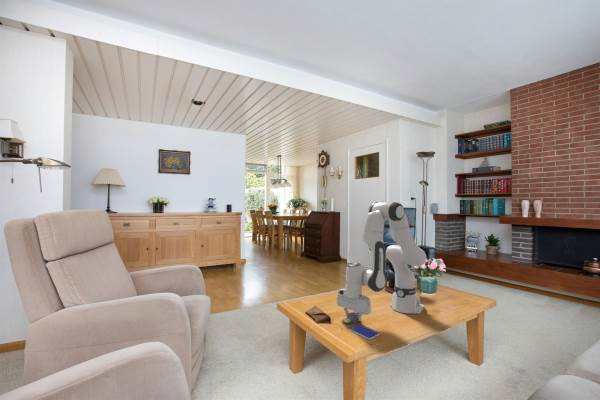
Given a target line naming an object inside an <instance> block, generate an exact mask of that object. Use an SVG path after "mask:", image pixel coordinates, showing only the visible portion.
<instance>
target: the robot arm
mask: <svg viewBox="0 0 600 400" xmlns="http://www.w3.org/2000/svg"><path fill="white" fill-rule="evenodd" d="M386 221H388V223H389V224H388V225H389V229H390V233H391V239H392V240H393V242H395V244H392V245H389V246H387V248H386V247H385V242H384V231H385V223H386ZM410 228H411V227H410V224H409V220H408V217H407V213H406V212H405V207H404V206H403V204H402V203H400V202H393V201H374V202H373V203H371V204H370V206H369V208H368V213H367V215H366V217H365V220H364V225H363V232H362V239H363V240H362V241H363V242H364V244H365V245H366V247H368V248H369V250H370V251H371V252H372V255H373V257H372V260H373V261H372V264H373V265H372V269H371V268H369V267H366V266H364V265H362V264H361V263H360V262H351V263H349V264H347V267H346V270H345V282H346V284H345V287H344V288H340V289H338V290H337V297H336V304H337V306H338V307H341V308H343V310H344V312H345V317H347V314H349V313H350V312H349V310H350V311H352V312H353V311H356V312H359V316H358V317H357V320H359V321H358V322H360V321H361V320H362V316H363V315H365V316H368V315H370V314H371V313H372V306H371V299H370V297H369V296H367V295H364V294H363V286H366V287H367V288H369V289H370V290H371V291H373V292H377V293H378V292H381V291H383V290H385V286H386V282H387V283H388V278H387V279H386V276H387V275H386V260H385V257H386V256H387V258H388V259H389V260H390V262H391V263H392V265H393V267H394V270H395V287H394V289H395V292H394V293H393V294H392V297H391V303H389V306H390V307H391V308H392V309H393V310H394V311H396V312H398V313H402V314H407V315H408V314H410V315H411V314H418V315H420V314H421V313H422V311H423V309H424V308H425V305H424V304H422V303H421V297H420V296H419V295H418V294H417V292H416V291H417V289H418V286H417V285H416V286H415V274H414V272H413V271H412V270H411V269H410V268H409V266H413V267H421V266H423V265H425V263H426V261H427V254H426V252H425V250H423V249H422V248H420V246H419V245H418V244H417V243H416V242H415V240H414V238H413V236H412V232H411V229H410Z"/></svg>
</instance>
